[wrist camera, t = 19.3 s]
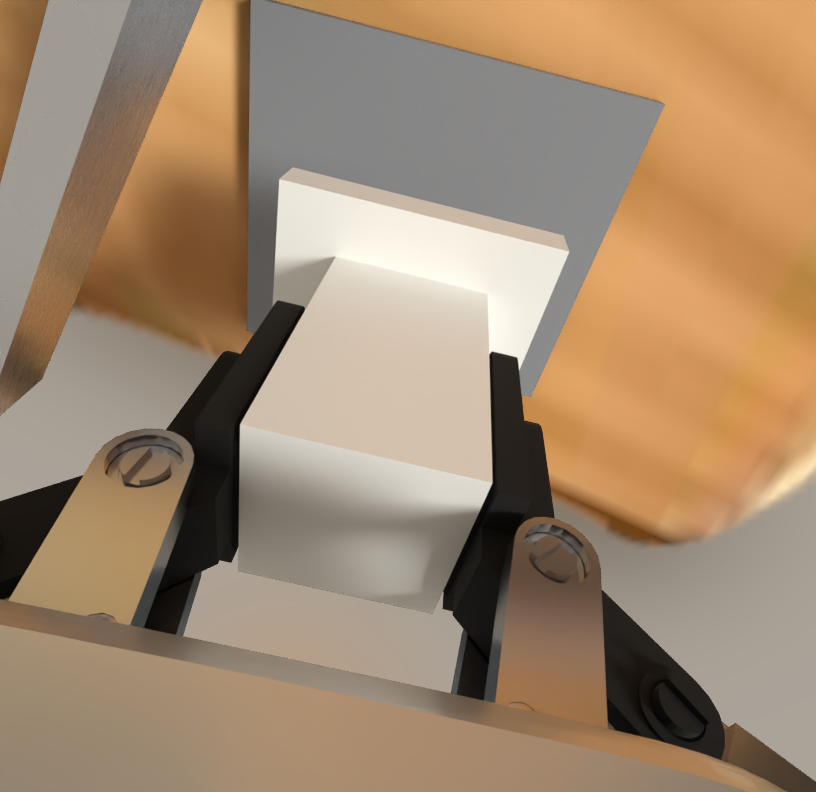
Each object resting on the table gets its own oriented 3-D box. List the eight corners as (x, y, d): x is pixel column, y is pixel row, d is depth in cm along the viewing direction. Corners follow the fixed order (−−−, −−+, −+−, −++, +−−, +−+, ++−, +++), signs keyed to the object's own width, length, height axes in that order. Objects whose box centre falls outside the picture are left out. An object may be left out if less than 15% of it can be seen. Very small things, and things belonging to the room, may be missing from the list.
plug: (303, 338, 18) (167, 596, 10) (322, 141, 14) (127, 312, 6) (482, 381, 18) (483, 664, 10) (550, 199, 14) (634, 433, 6)
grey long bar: (52, 385, 19) (-8, 440, 17) (-4, 354, 18) (-74, 406, 16) (309, -188, 10) (252, -249, 7) (211, -294, 9) (115, -399, 7)
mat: (251, 323, 22) (246, 330, 21) (257, -4, 15) (250, -4, 14) (529, 388, 22) (530, 397, 22) (659, 101, 15) (664, 104, 15)
